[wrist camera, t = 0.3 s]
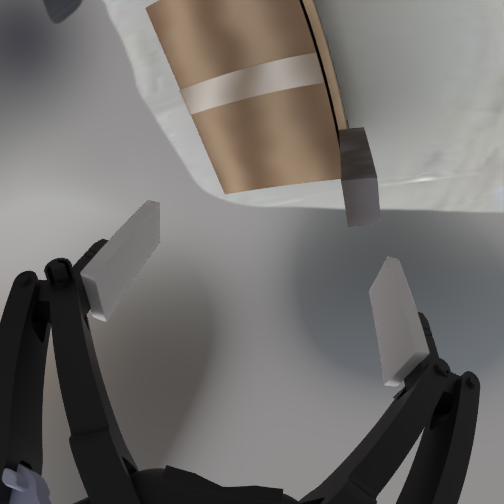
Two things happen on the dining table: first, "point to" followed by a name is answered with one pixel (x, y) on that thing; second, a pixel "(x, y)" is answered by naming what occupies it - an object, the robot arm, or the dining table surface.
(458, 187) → the dining table surface
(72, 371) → the robot arm
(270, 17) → the carton
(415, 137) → the dining table surface
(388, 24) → the dining table surface
